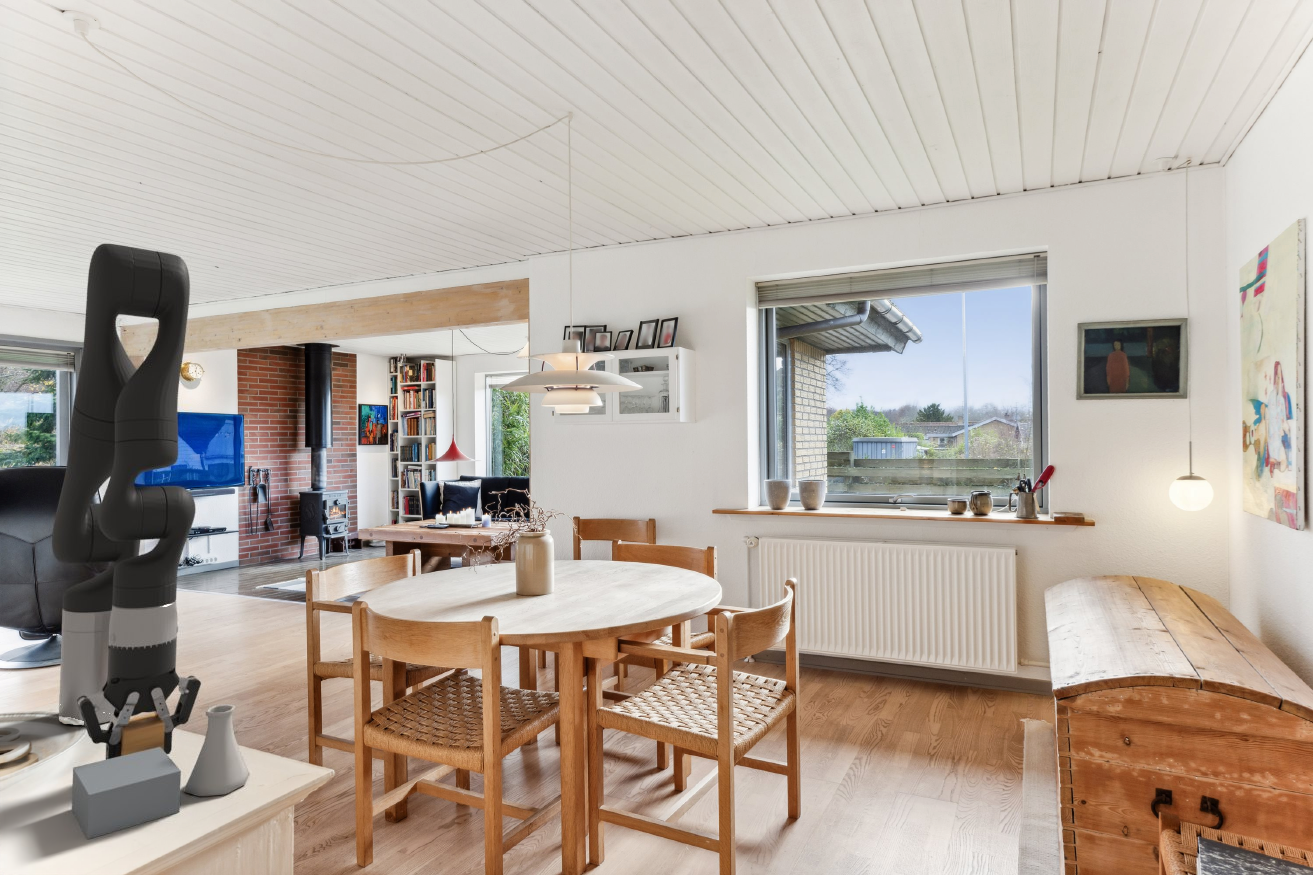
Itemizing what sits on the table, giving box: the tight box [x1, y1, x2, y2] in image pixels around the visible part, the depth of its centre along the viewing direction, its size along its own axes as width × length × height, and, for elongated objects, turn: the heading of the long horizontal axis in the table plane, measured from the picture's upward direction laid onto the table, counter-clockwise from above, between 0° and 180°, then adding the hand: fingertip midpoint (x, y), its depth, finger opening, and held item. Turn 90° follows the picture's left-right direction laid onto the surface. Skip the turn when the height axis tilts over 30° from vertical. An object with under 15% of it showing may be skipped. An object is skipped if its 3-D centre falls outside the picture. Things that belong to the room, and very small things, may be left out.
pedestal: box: [71, 747, 182, 840], centre depth 91 cm, size 9×9×5 cm
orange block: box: [120, 713, 165, 756], centre depth 100 cm, size 4×4×6 cm
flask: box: [183, 703, 250, 797], centre depth 98 cm, size 7×7×10 cm
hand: (138, 762), depth 100 cm, fingers closed on orange block, 4 cm apart
